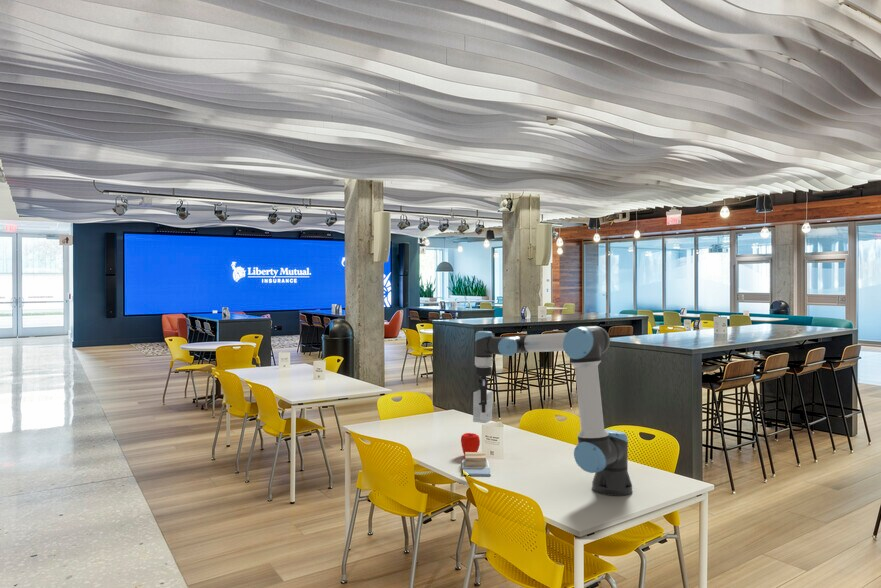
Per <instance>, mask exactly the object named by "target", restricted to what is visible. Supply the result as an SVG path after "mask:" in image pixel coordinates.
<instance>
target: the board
mask: <svg viewBox="0 0 881 588" xmlns="http://www.w3.org/2000/svg"><path fill="white" fill-rule="evenodd" d="M462 469H463V470H464V471H465V472H467V473H468V474H469V475H471V476H470V477H491V468H490V463H489V460H488V459H486V467H465V459H461V470H462Z"/></svg>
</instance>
